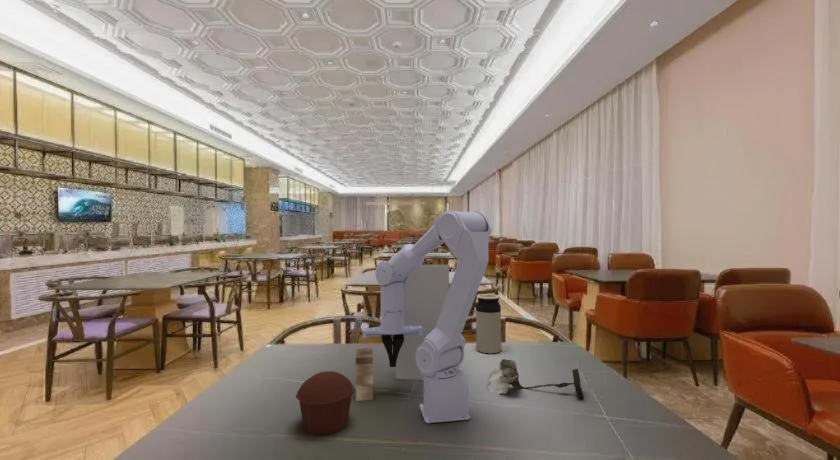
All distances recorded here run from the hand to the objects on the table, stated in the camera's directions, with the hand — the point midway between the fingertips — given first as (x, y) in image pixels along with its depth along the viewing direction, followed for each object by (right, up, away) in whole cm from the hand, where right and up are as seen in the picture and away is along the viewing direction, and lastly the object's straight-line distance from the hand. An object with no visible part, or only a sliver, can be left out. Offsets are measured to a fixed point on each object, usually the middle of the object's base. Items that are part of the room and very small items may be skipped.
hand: (392, 365), depth 93 cm
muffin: (-13, -7, -15) cm, 21 cm away
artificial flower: (+34, -7, -1) cm, 35 cm away
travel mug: (+29, -7, +32) cm, 44 cm away
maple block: (-7, -7, -1) cm, 9 cm away
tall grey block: (+8, -7, +10) cm, 14 cm away
